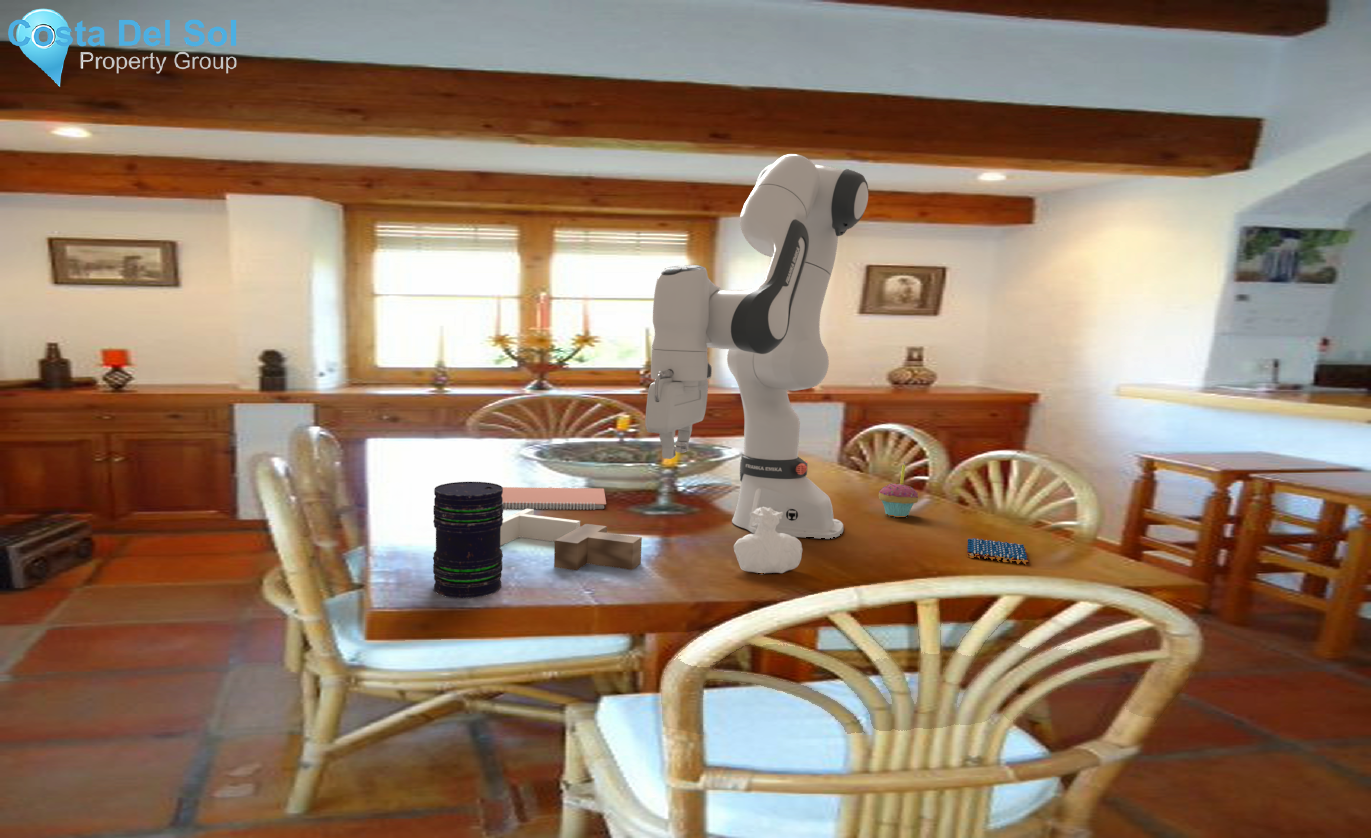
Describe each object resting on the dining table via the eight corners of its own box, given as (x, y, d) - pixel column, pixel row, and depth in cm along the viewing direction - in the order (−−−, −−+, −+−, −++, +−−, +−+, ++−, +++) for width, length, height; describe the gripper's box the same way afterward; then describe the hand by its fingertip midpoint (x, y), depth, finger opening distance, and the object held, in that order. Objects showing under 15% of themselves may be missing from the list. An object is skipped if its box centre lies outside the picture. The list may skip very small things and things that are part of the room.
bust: (797, 579, 134) (785, 518, 140) (814, 563, 128) (800, 500, 133) (730, 583, 131) (720, 520, 136) (744, 566, 125) (732, 501, 130)
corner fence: (588, 537, 147) (589, 516, 147) (518, 577, 122) (519, 552, 122) (526, 529, 151) (526, 508, 150) (446, 566, 126) (446, 542, 126)
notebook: (475, 511, 165) (475, 502, 165) (484, 494, 182) (484, 485, 182) (606, 512, 169) (606, 503, 169) (603, 495, 186) (603, 487, 185)
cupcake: (886, 509, 181) (889, 457, 179) (922, 515, 176) (926, 462, 175) (871, 515, 174) (875, 461, 172) (909, 522, 169) (913, 467, 168)
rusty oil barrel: (436, 601, 111) (437, 497, 109) (429, 580, 120) (429, 483, 118) (508, 594, 115) (509, 493, 113) (496, 574, 124) (497, 480, 122)
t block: (649, 557, 136) (650, 531, 136) (622, 577, 125) (623, 549, 124) (585, 548, 140) (585, 523, 139) (554, 567, 128) (554, 540, 128)
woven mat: (1029, 569, 140) (1030, 558, 140) (966, 561, 143) (967, 550, 143) (1025, 553, 150) (1026, 543, 150) (966, 546, 153) (967, 536, 153)
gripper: (677, 372, 114) (673, 467, 116) (715, 367, 134) (711, 448, 135) (636, 370, 116) (633, 463, 118) (679, 365, 135) (676, 445, 137)
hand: (675, 455), depth 127 cm, fingers open, 5 cm apart
